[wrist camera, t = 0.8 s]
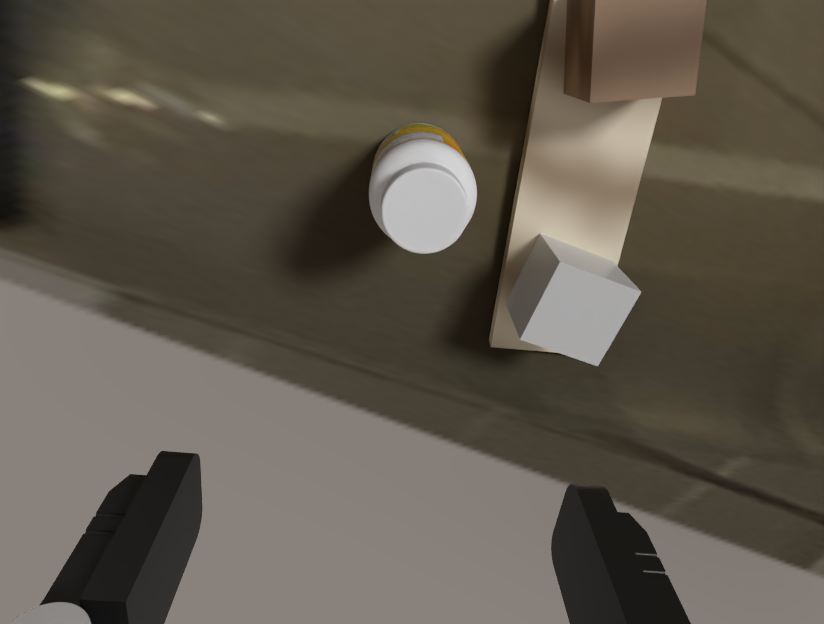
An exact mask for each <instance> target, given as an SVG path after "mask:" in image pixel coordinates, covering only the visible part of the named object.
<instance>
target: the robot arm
mask: <svg viewBox="0 0 824 624" xmlns="http://www.w3.org/2000/svg"><path fill="white" fill-rule="evenodd" d="M201 518H202V491H201V471H200V458H199V455H198V454H193V453H180V452H167V451H161V452H160V453H159V454H158V456H157V457H156V459H155V461H154V463H153V465H152V466H151V468H150V470H149V472H148V474H147V475H134V474H130V475H129V476H128V477H126V478H125V479H124V480H123V481H121V482H120V483H119V484H118V485H117V486H115V487H114V488H113V489H112V490H110V491H109V492H108V494H107V496H106V498H105V499H104V501H103V503H102V504H101V506H100V507H99V509H98V511H97V513H96V516H95V517H93V519H92V521H91V522H90V524H89V526H88V527H87V529H86V533H85V534H83V535H82V537H81V539H80V540H79V542H78V544H77V545H76V547H75V549H74V550H73V552H72V554H71V555H70V557H69V559H68V560H67V562H66V564H65V565H64V567H63V569H62V570H61V572H60V573H59V575H58V577H57V578H56V580H55V582H54V583H53V585H52V587H51V588H50V590H49V592H48V593H47V595H46V597H45V598H44V600H43V601H42V603H41V604H40V605H39V606H38V607H35V608H32V609H30V610H28V611H26V612H24V613H23V614H21V615H19V616H18V617H16V618H15V619H14V620H12V621H11V622H10V623H9V624H164V623H165V620H166V617H167V615H168V612H169V609H170V607H171V604H172V602H173V599H174V596H175V594H176V591H177V588H178V586H179V583H180V580H181V578H182V576H183V573H184V570H185V568H186V565H187V563H188V560H189V557H190V555H191V552H192V549H193V547H194V544H195V542H196V539H197V536H198V533H199V529H200V523H201ZM551 551H552V560H553V565H554V569H555V572H556V576H557V579H558V583H559V586H560V590H561V593H562V597H563V601H564V604H565V608H566V611H567V614H568V618H569V622H570V624H691V623H690V621H689V619H688V617H687V615H686V613H685V611H684V609H683V607H682V605H681V602H680V600H679V598H678V596H677V594H676V592H675V590H674V588H673V586H672V584H671V582H670V580H669V578H668V576H667V575H665V569H664V567H663V565H662V563H661V561H660V559H659V558H657V553H656V550H655V548H654V546H653V544H652V542H651V541H650V538H649V536H648V534H647V532H646V531H645V530H644V529H643V528H642V527H641V526H640V525H639V523H637V521H635V519H634V518H633V517H632V516H631V515H630V514H629V513H621V512H617V510H616V508H615V506H614V503H613V501H612V499H611V497H610V494H609V492H608V490H607V489H606V488H605V487H599V486H586V485H574V484H571V485H569V486H568V488H567V490H566V492H565V496H564V499H563V503H562V505H561V509H560V512H559V516H558V518H557V522H556V525H555V528H554V531H553V536H552V546H551Z"/></svg>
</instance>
